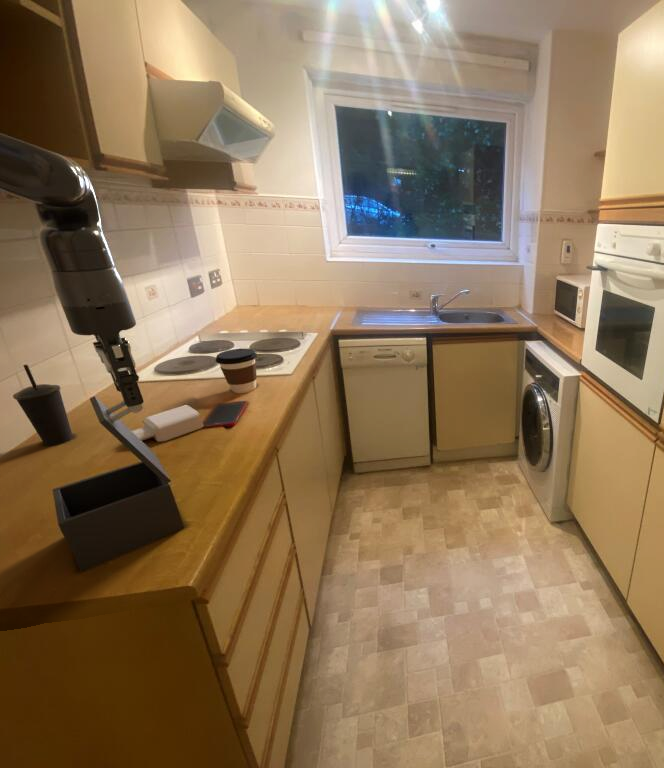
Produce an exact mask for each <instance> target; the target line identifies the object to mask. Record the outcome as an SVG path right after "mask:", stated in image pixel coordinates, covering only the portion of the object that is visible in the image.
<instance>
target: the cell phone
mask: <svg viewBox="0 0 664 768" xmlns="http://www.w3.org/2000/svg"><path fill="white" fill-rule="evenodd" d="M247 405H248V402H247V400H241V401H233V402H232V401H231V402H224V403H217V404H216V405H215V406H214V407H213V409H212V410H211V412H210V413H209V414H208V415H207V417H206V418H205V419H204V421H202V422H203V425H204V426H203V428H202V429H210V428H219V427H223V428H228V427H229V428H230V427H234V426H235V425H236V424H237V423H238V420H239V419H240V418H241V415H242V414H243V413H244V410H245V409H246V407H247Z"/></svg>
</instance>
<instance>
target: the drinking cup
mask: <svg viewBox="0 0 664 768" xmlns="http://www.w3.org/2000/svg"><path fill="white" fill-rule="evenodd" d="M23 368H24V371H25V373H26V375H27V377H28V379H29V382H30V384H31V386H27V387H25V388H22V389H20V390H19V391H17V392H15V393H13V395H12V398H13V399H14V400H16V401H17V403H18V405H19V406H20V408H21V409H22V411H23V412H24V414H25V415H26V418H27V419H28V420H29V422H30V423H31V425H32V426H33V428H34V430H35V432H36V433H37V434H38V437H39V438H40V439H41V441H42V442H43V444H44V446H48V447H49V446H57V445H61V444H64V443H67V442H70V441H71V440H72V439H73V438H74V435H73V432H72V429H71V425H70V422H69V417H68V414H67V411H66V407H65V405H64V404H65V403H64V400H63V397H62V394H61V389H62V388H61V386H60V385H57V384H48V383H47V384H46V383H44V384H42V383H41V384H37V383H36V381H35V378H34V377H33V374H32V371H31V370H30V367H29V365H28V364H23Z"/></svg>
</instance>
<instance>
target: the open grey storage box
mask: <svg viewBox="0 0 664 768" xmlns="http://www.w3.org/2000/svg"><path fill="white" fill-rule="evenodd" d="M52 495H53V502H54V506H55V514H56V520H57V525H58V527H59V529H60V531H61V534H62V535H63V537H64V539H65V542H66V544H67V546H68V547H69V550H70V552H71V554H72V556H73V558H74V561H75V563H76V564H77V567H78V569H79V570H80V572H82V571H86V570H87V569H90V568H92V567H94V566H97V565H99V564H102V563H105V562H106V561H108V560H111V559H114V558H116V557H119V556H121V555H123V554H126V553H129V552H130V551H133V550H135V549H138V548H141V547H143V546H145V545H148V544H150V543H152V542H155V541H157V540H159V539H162V538H164V537H167V536H169V535H171V534H174V533H176V532H179V531H181V530H183V529H185V525H184V522H183V519H182V516H181V513H180V511H179V508H178V507H179V506H178V504H177V502H176V499H175V497H174V493H173V490H172V488H171V485H170V482H169V483H167V484H166V483H165V482H164V481H162V480H161V479H160V478H159V477H158V476H157V475H156V474H155V473H154V472H153V471H152V470H151V469H149V468H148V467H147V466H146V465H145V464H144V463H143V462H142V461H141V460H140V461H138V462H135V463H132V464H129V465H126V466H122V467H119V468H116V469H112V470H109V471H105V472H103V473H100V474H96V475H93V476H90V477H87V478H84V479H80V480H78V481H74V482H71V483H68V484H64V485H62V486H61V485H60V486H57V487H55V488H52Z"/></svg>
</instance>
